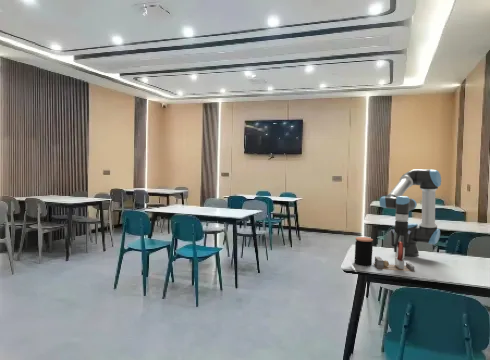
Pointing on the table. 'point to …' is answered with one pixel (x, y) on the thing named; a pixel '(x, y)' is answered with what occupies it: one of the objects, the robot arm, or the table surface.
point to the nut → (385, 263)
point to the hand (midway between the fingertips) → (399, 257)
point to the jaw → (399, 257)
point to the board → (392, 267)
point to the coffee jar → (363, 251)
